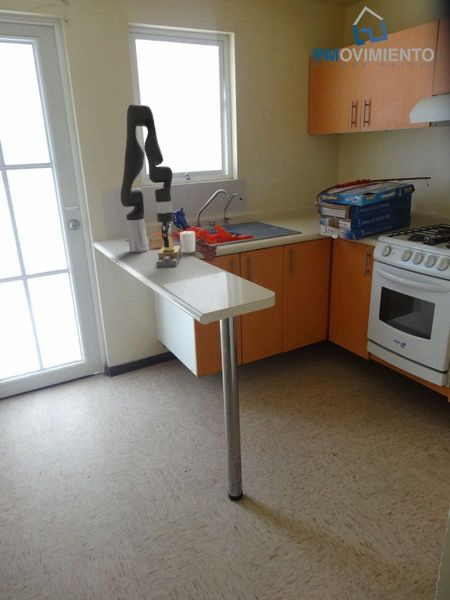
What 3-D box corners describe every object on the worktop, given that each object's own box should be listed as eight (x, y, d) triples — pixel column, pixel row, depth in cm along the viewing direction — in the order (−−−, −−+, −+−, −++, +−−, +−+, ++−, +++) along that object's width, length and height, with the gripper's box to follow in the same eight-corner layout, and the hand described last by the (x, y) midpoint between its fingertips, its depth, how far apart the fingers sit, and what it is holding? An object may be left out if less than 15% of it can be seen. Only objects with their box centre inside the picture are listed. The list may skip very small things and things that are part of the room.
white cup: (182, 253, 222) (181, 234, 219) (180, 250, 229) (178, 232, 226) (197, 251, 224) (196, 232, 221) (194, 249, 231) (193, 230, 228)
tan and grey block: (156, 267, 197) (155, 253, 195) (163, 256, 218) (162, 243, 216) (176, 266, 197) (174, 252, 195) (181, 255, 218) (180, 242, 216)
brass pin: (165, 262, 206) (162, 237, 202) (166, 260, 210) (163, 235, 206) (173, 261, 206) (170, 236, 202) (174, 259, 210) (171, 235, 206)
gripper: (158, 209, 207) (162, 243, 212) (153, 213, 193) (157, 249, 199) (174, 208, 207) (177, 242, 212) (170, 212, 193) (174, 248, 198)
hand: (168, 245), depth 205 cm, fingers open, 8 cm apart
